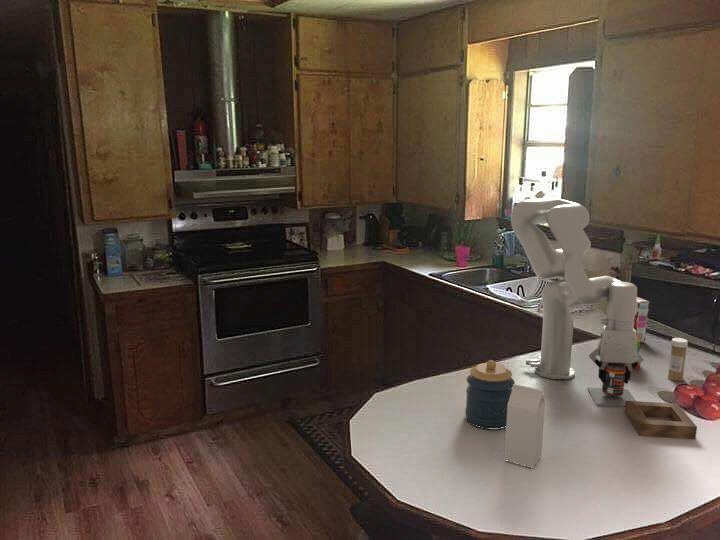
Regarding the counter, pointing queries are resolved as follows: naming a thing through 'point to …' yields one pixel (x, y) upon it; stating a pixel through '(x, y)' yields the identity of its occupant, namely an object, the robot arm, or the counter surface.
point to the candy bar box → (641, 318)
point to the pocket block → (673, 429)
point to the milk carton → (524, 425)
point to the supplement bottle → (614, 379)
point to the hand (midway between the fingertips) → (613, 380)
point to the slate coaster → (610, 398)
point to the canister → (488, 395)
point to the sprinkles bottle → (677, 359)
